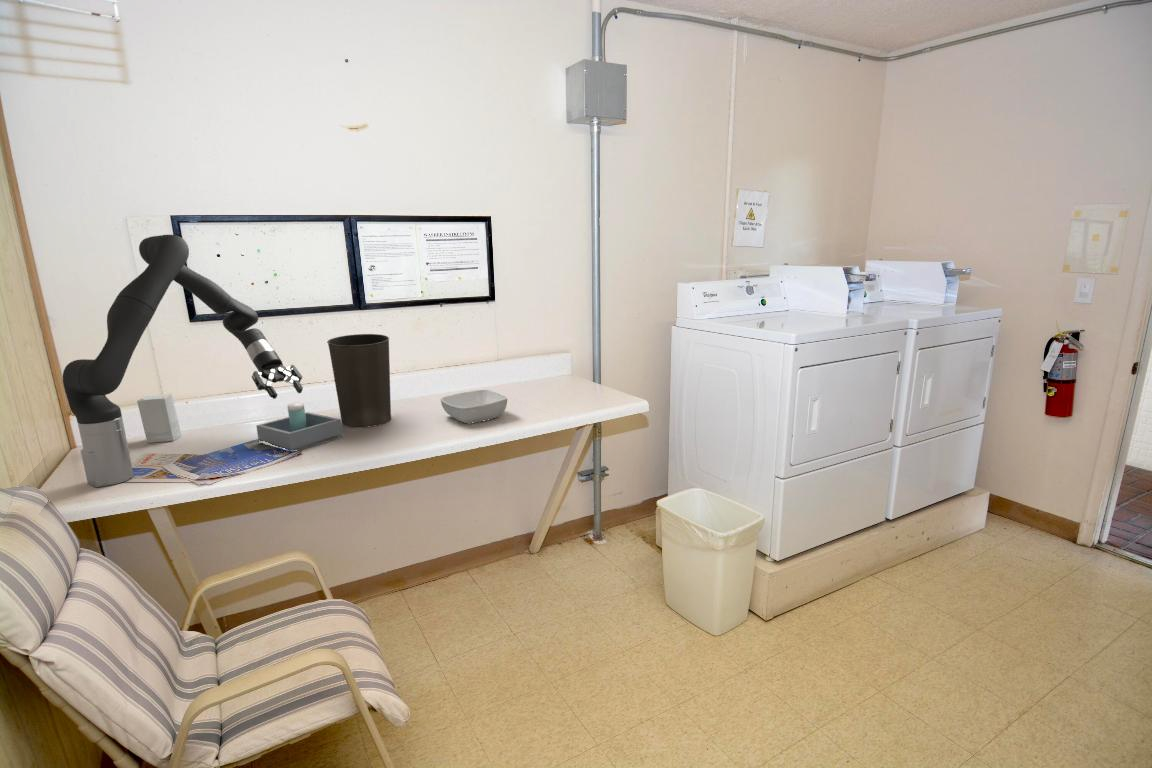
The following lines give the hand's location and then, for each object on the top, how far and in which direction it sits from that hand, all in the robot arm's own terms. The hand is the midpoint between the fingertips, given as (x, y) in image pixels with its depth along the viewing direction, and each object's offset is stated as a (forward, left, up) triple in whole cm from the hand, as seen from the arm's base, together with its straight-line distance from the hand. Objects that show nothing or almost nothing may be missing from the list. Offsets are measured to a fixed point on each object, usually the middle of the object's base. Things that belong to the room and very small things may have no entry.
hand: (288, 394), depth 187 cm
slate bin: (0, -4, -15) cm, 15 cm away
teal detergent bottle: (0, -4, -14) cm, 14 cm away
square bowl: (+48, -36, -15) cm, 62 cm away
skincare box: (-23, +37, -15) cm, 46 cm away
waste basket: (+25, -5, -15) cm, 30 cm away
